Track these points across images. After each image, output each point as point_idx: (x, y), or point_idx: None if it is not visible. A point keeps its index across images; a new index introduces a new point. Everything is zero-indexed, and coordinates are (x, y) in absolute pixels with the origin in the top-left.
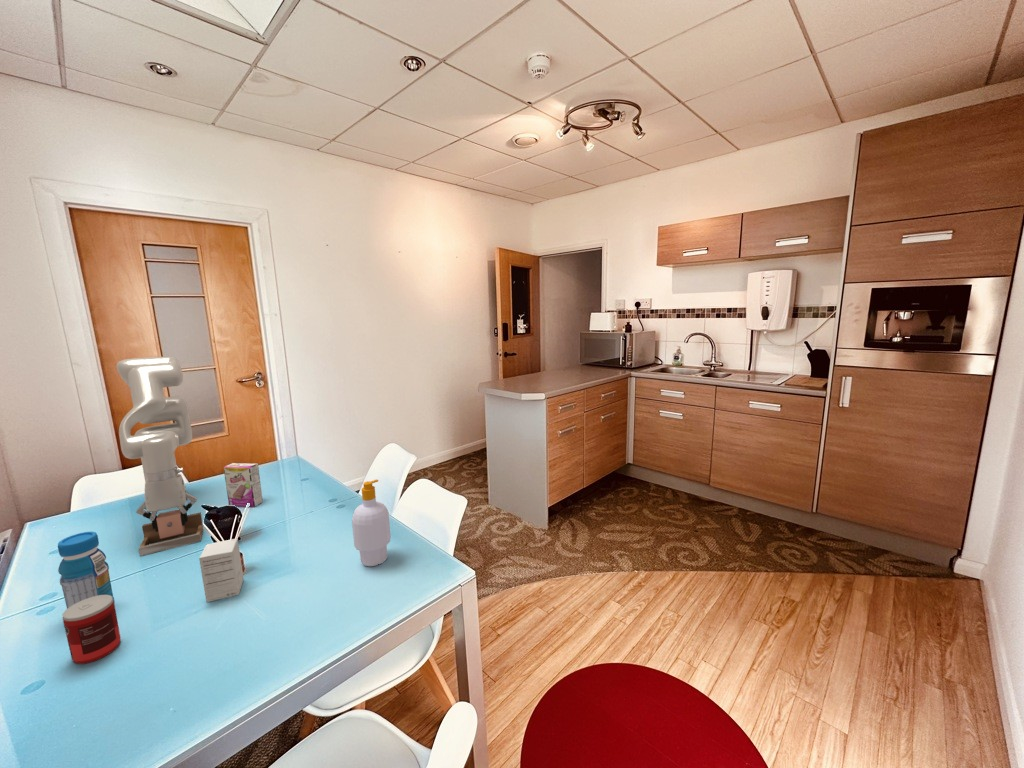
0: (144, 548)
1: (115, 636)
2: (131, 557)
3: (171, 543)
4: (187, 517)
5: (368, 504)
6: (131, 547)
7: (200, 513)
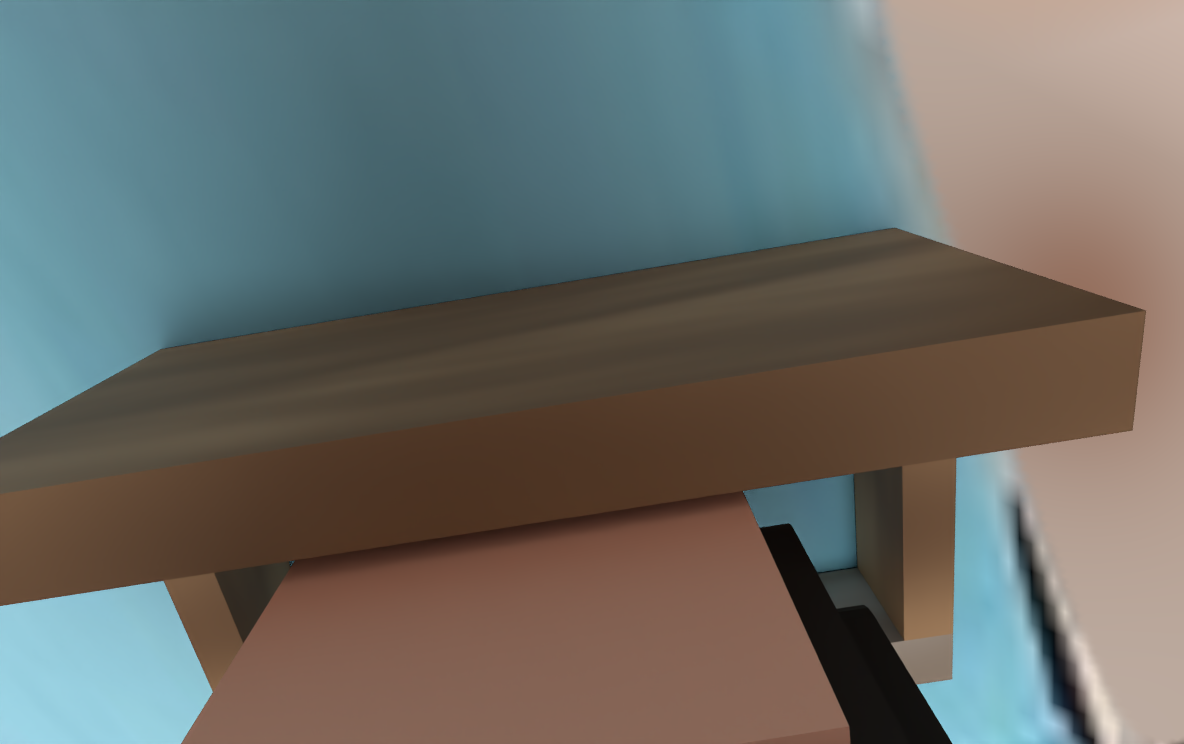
0: None
1: None
2: (203, 679)
3: None
4: (884, 637)
5: None
6: (9, 403)
7: (1134, 392)
